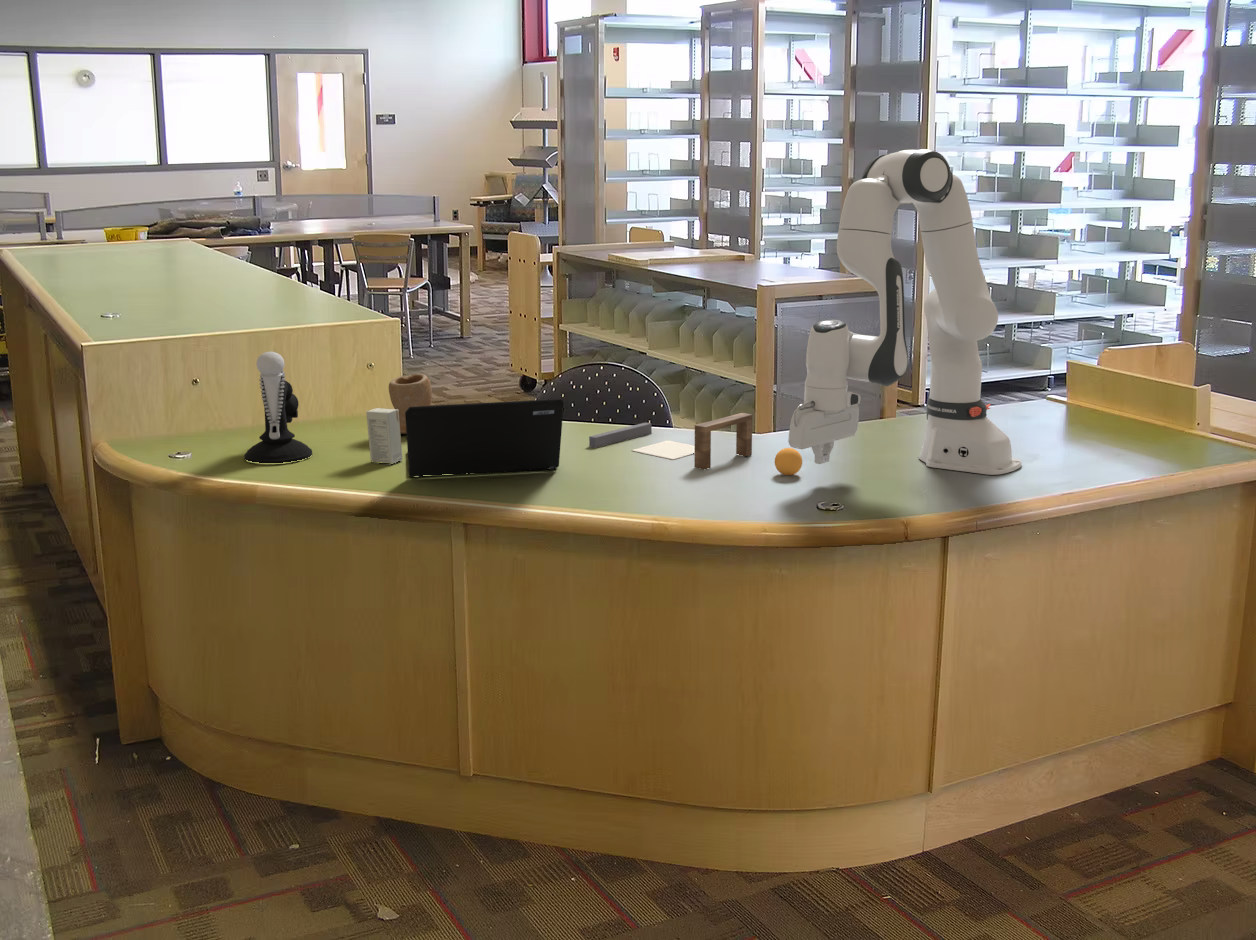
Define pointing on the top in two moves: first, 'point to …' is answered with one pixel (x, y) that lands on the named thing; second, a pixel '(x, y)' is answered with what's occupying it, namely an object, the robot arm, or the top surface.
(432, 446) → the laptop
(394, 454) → the skincare box
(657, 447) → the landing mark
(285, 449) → the sculpture
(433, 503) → the top surface
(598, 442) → the wall
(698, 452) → the bridge
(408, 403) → the stone cup
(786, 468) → the ball
